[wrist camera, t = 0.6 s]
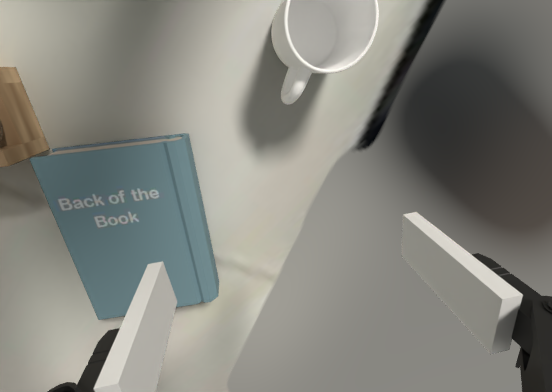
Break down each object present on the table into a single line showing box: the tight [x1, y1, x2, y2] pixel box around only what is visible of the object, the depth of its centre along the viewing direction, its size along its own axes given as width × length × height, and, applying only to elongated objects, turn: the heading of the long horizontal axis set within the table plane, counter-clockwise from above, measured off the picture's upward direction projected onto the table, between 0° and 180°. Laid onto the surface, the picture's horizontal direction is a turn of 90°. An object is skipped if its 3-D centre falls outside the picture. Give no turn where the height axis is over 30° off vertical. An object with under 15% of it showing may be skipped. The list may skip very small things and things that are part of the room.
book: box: [30, 134, 219, 320], centre depth 39 cm, size 23×16×5 cm
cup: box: [271, 0, 379, 104], centre depth 31 cm, size 8×12×10 cm
